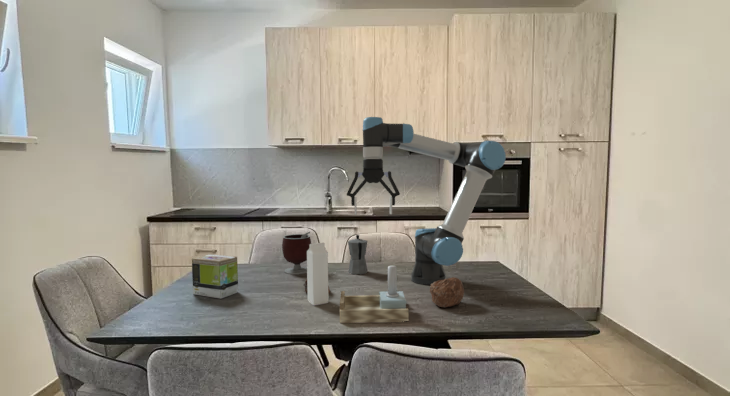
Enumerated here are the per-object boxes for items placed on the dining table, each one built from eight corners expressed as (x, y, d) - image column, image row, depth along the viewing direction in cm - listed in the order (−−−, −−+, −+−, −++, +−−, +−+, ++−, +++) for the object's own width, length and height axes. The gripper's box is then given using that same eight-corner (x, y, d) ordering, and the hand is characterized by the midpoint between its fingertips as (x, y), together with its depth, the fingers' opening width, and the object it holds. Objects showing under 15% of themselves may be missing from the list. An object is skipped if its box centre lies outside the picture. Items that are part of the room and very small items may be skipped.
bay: (402, 302, 144) (402, 286, 143) (409, 321, 125) (409, 303, 125) (342, 303, 143) (341, 287, 143) (339, 322, 125) (339, 304, 124)
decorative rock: (458, 298, 147) (458, 272, 147) (471, 309, 136) (471, 280, 136) (424, 301, 145) (424, 274, 144) (435, 311, 134) (435, 283, 133)
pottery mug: (330, 297, 152) (320, 280, 150) (309, 306, 153) (299, 290, 151) (333, 281, 163) (323, 265, 161) (314, 290, 165) (304, 274, 162)
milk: (328, 303, 144) (328, 243, 142) (313, 305, 141) (312, 245, 139) (322, 298, 149) (321, 241, 148) (307, 300, 146) (306, 242, 145)
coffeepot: (346, 269, 193) (346, 233, 192) (365, 268, 194) (365, 232, 193) (350, 277, 178) (350, 238, 177) (370, 276, 179) (370, 237, 178)
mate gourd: (276, 272, 188) (275, 231, 187) (297, 266, 200) (296, 227, 198) (300, 277, 179) (299, 233, 178) (320, 270, 191) (319, 229, 189)
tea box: (239, 292, 158) (238, 256, 157) (220, 299, 148) (219, 261, 147) (211, 287, 164) (210, 253, 163) (191, 294, 155) (190, 257, 154)
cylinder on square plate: (403, 304, 137) (403, 262, 136) (406, 315, 127) (406, 270, 126) (379, 305, 137) (378, 263, 136) (380, 315, 127) (380, 270, 126)
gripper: (404, 158, 153) (404, 212, 154) (340, 159, 152) (341, 213, 154) (406, 158, 145) (406, 214, 147) (339, 158, 145) (340, 215, 146)
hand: (373, 214), depth 150 cm, fingers open, 13 cm apart
